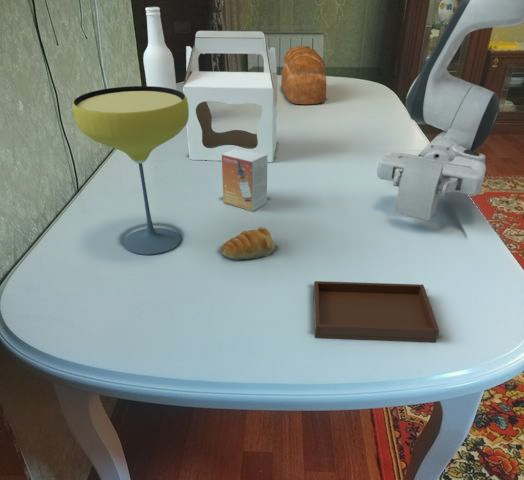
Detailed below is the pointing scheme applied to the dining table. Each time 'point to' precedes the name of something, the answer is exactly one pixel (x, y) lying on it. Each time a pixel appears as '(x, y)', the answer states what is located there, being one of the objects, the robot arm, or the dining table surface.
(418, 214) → the grey rectangular block
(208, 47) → the gable box
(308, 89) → the bread
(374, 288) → the tray
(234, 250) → the pastry
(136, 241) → the cocktail glass
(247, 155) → the small box
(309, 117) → the dining table surface
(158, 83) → the alcohol
